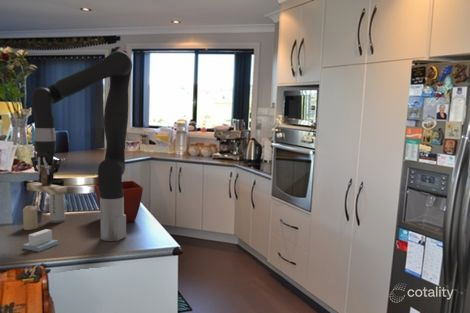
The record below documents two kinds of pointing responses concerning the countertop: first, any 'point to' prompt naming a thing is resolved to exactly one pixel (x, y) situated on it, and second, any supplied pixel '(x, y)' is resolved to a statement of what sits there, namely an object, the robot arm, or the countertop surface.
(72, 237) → the countertop surface
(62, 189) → the maple bar
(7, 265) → the countertop surface
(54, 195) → the travel mug
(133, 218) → the plant pot
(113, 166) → the robot arm
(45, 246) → the fulcrum block
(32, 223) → the candle
